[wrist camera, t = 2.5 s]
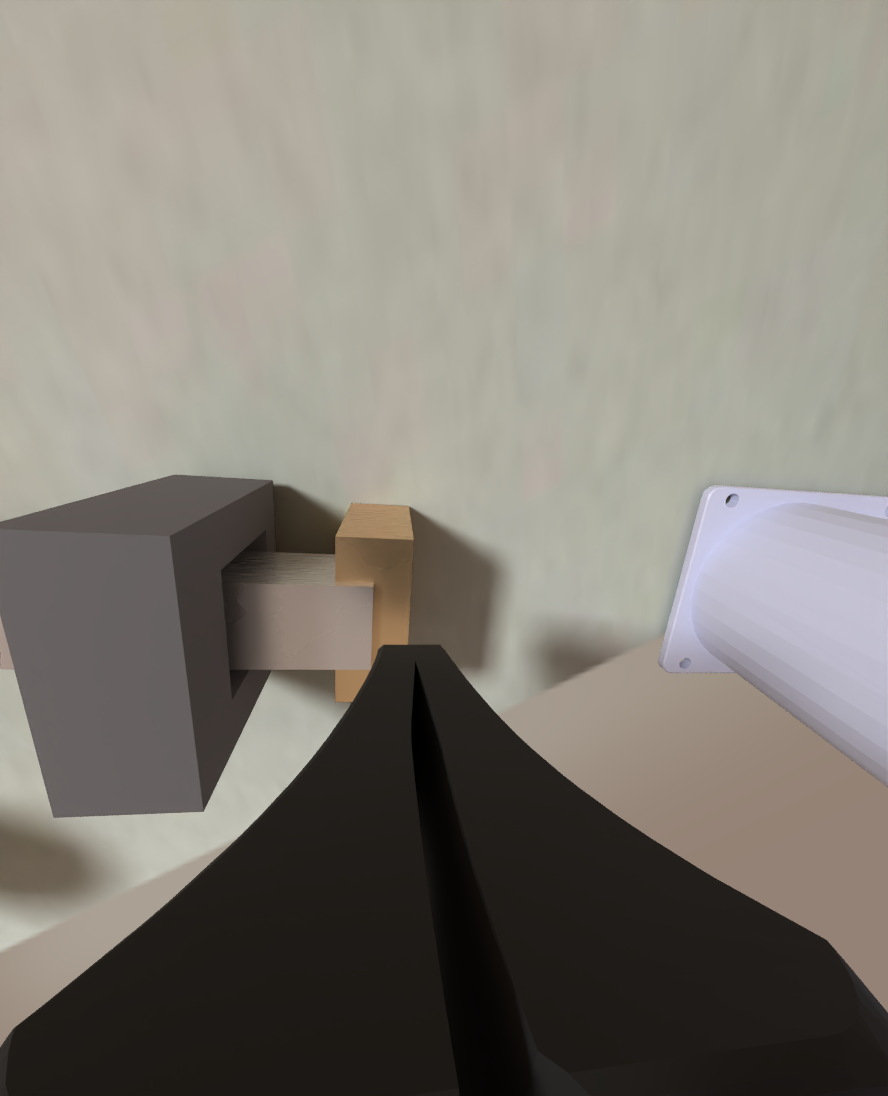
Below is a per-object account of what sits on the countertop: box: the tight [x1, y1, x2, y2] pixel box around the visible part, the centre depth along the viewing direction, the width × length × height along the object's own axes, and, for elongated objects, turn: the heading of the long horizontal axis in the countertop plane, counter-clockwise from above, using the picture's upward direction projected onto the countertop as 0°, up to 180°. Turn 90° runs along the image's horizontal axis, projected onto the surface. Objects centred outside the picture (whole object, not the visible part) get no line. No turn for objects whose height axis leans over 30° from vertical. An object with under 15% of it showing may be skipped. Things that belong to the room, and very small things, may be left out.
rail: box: [0, 503, 414, 702], centre depth 12 cm, size 22×7×4 cm, turn 86°
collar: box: [0, 475, 276, 818], centre depth 11 cm, size 3×6×7 cm, turn 176°
